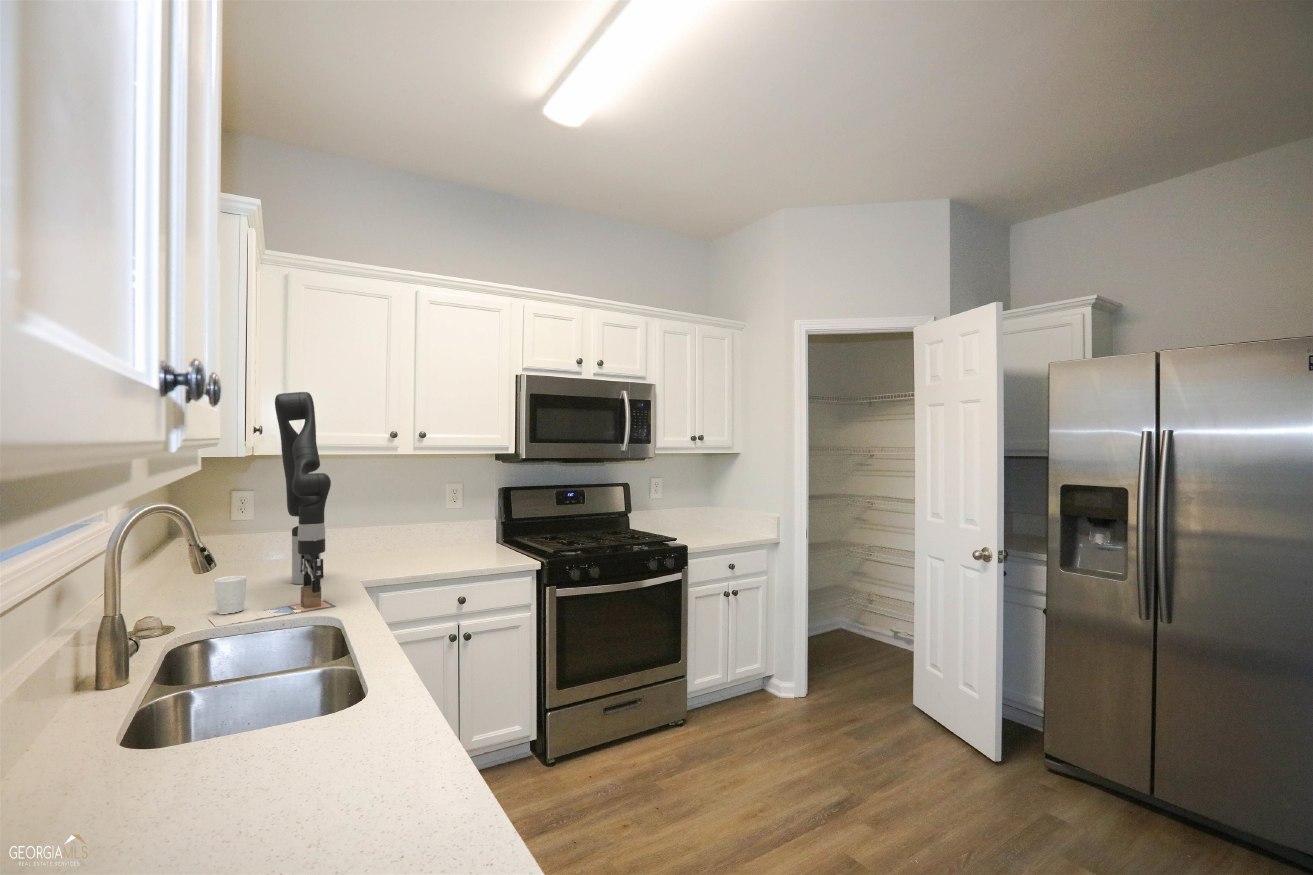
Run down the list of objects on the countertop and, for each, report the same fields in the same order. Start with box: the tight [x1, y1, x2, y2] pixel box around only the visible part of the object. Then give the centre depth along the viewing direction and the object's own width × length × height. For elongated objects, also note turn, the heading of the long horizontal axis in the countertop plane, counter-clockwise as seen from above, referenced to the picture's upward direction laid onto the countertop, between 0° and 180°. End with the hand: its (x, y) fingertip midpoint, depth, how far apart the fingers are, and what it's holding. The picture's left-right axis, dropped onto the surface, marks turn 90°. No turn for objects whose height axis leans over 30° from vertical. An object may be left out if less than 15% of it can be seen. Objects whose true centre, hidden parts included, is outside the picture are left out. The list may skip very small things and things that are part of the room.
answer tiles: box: [267, 599, 337, 614], centre depth 188 cm, size 11×31×1 cm, turn 134°
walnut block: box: [300, 585, 322, 609], centre depth 195 cm, size 4×4×6 cm
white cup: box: [214, 575, 247, 614], centre depth 190 cm, size 8×8×10 cm
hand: (311, 589), depth 196 cm, fingers open, 8 cm apart
